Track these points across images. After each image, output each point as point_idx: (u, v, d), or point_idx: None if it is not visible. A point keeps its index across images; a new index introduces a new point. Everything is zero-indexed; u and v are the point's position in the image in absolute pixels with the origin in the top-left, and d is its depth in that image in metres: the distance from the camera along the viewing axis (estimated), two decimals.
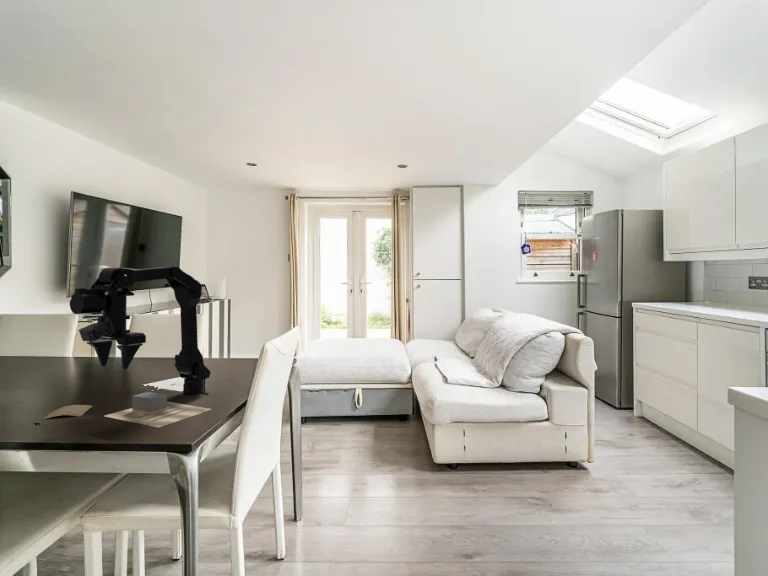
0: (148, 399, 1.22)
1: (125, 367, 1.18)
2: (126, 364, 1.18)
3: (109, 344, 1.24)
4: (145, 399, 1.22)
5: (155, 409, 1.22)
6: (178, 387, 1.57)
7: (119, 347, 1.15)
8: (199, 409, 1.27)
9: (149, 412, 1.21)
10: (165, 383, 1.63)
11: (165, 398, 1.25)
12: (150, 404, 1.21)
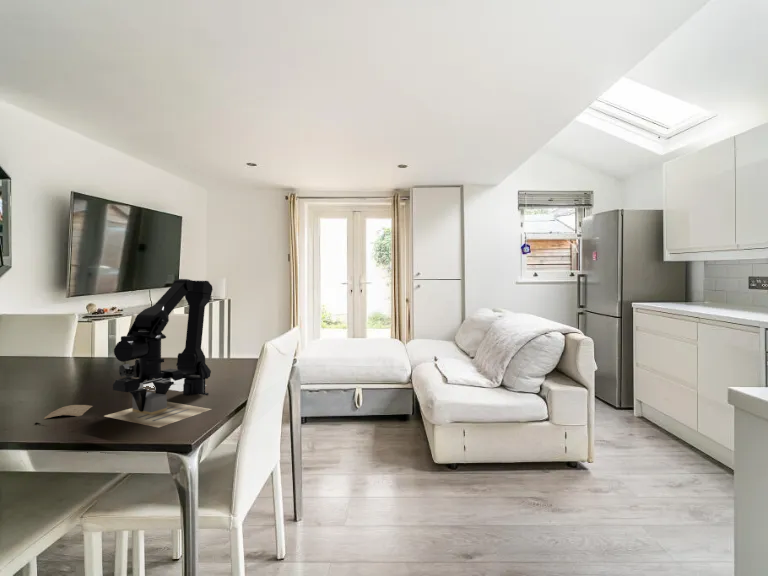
0: (148, 399, 1.22)
1: (140, 409, 1.22)
2: (138, 406, 1.22)
3: (163, 387, 1.27)
4: (145, 399, 1.22)
5: (155, 409, 1.22)
6: (178, 387, 1.57)
7: None
8: (199, 409, 1.27)
9: (149, 412, 1.21)
10: None
11: (165, 398, 1.25)
12: (150, 404, 1.21)
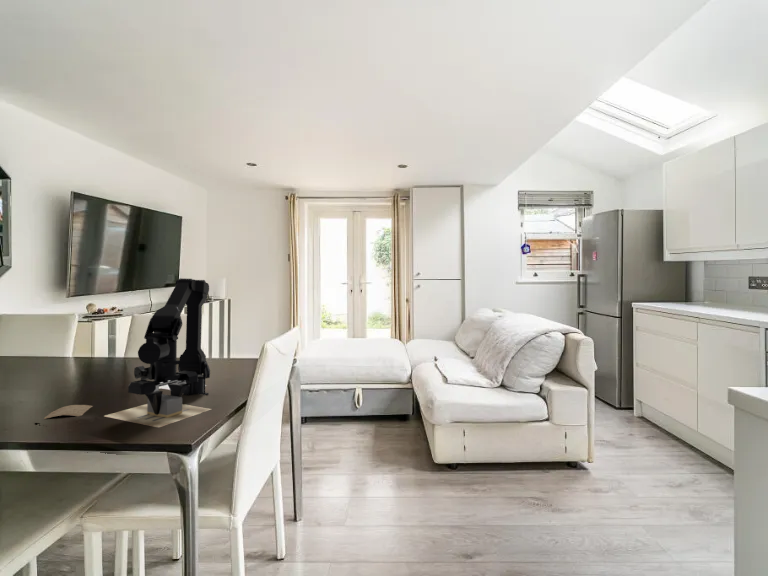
0: (164, 402, 1.19)
1: (156, 412, 1.20)
2: (154, 409, 1.19)
3: (179, 389, 1.24)
4: None
5: (171, 412, 1.20)
6: None
7: None
8: (199, 409, 1.27)
9: (165, 415, 1.19)
10: None
11: (180, 400, 1.23)
12: (166, 407, 1.19)
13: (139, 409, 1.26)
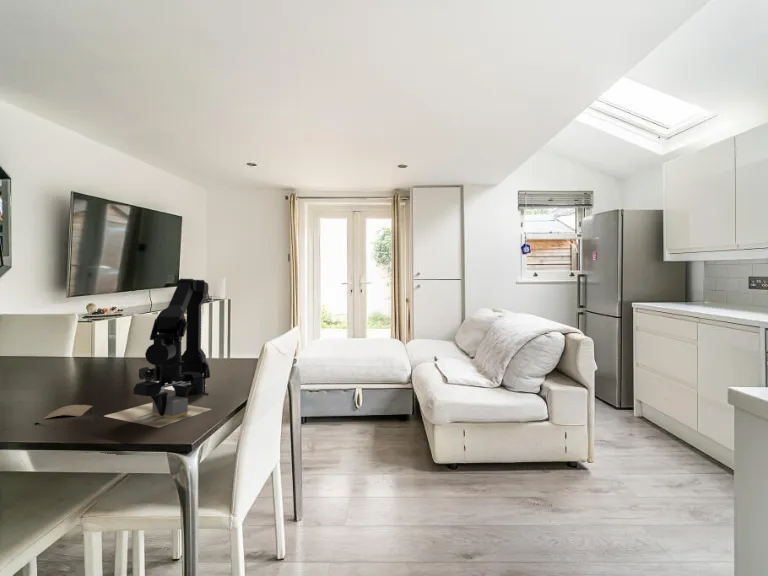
0: (169, 402, 1.18)
1: (161, 414, 1.19)
2: (159, 410, 1.19)
3: (183, 390, 1.24)
4: (166, 402, 1.19)
5: (176, 413, 1.19)
6: None
7: None
8: (199, 409, 1.27)
9: (170, 416, 1.18)
10: None
11: (186, 401, 1.22)
12: (171, 408, 1.18)
13: (139, 409, 1.26)
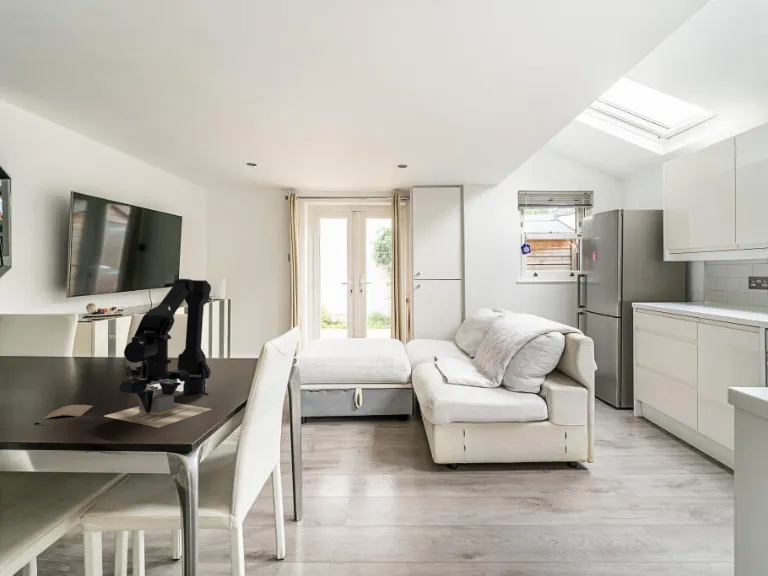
0: (155, 400, 1.20)
1: (147, 411, 1.21)
2: (145, 408, 1.21)
3: (170, 388, 1.26)
4: (152, 400, 1.21)
5: (162, 410, 1.21)
6: (178, 387, 1.57)
7: None
8: (199, 409, 1.27)
9: (156, 413, 1.20)
10: None
11: (172, 399, 1.24)
12: (157, 405, 1.20)
13: None
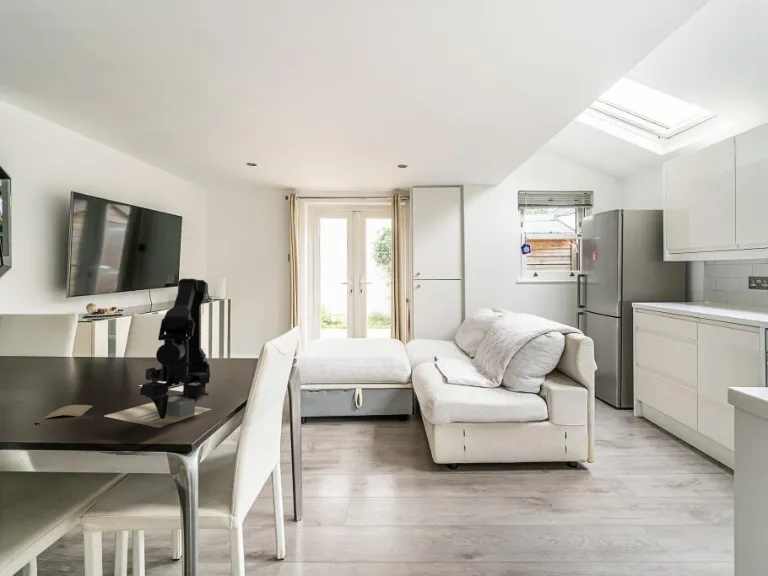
0: (176, 404, 1.17)
1: (162, 417, 1.16)
2: (160, 413, 1.16)
3: (196, 389, 1.24)
4: (173, 404, 1.18)
5: (183, 414, 1.18)
6: (178, 387, 1.57)
7: None
8: (199, 409, 1.27)
9: (177, 417, 1.17)
10: None
11: (193, 403, 1.21)
12: (178, 409, 1.17)
13: (139, 409, 1.26)
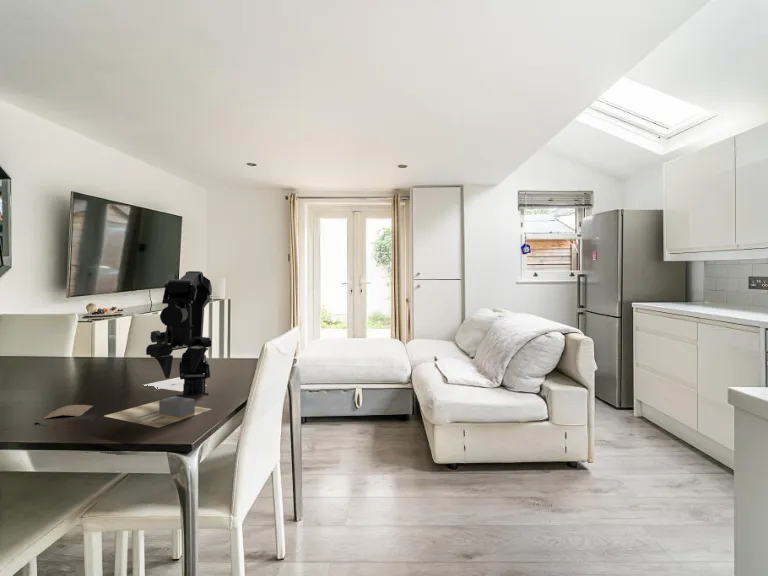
0: (176, 404, 1.17)
1: (166, 376, 1.22)
2: (164, 373, 1.22)
3: (198, 352, 1.30)
4: (173, 404, 1.18)
5: (183, 414, 1.18)
6: (178, 387, 1.57)
7: None
8: (199, 409, 1.27)
9: (177, 417, 1.17)
10: (165, 383, 1.62)
11: (193, 403, 1.21)
12: (178, 409, 1.17)
13: (139, 409, 1.26)
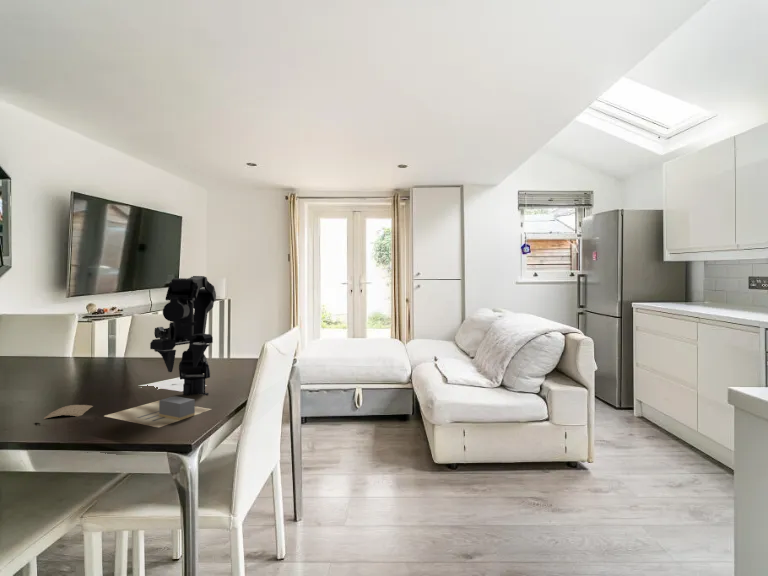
0: (176, 404, 1.17)
1: (169, 370, 1.28)
2: (168, 367, 1.27)
3: (200, 348, 1.36)
4: (173, 404, 1.18)
5: (183, 414, 1.18)
6: (178, 387, 1.57)
7: None
8: (199, 409, 1.27)
9: (177, 417, 1.17)
10: (165, 383, 1.62)
11: (193, 403, 1.21)
12: (178, 409, 1.17)
13: (139, 409, 1.26)
